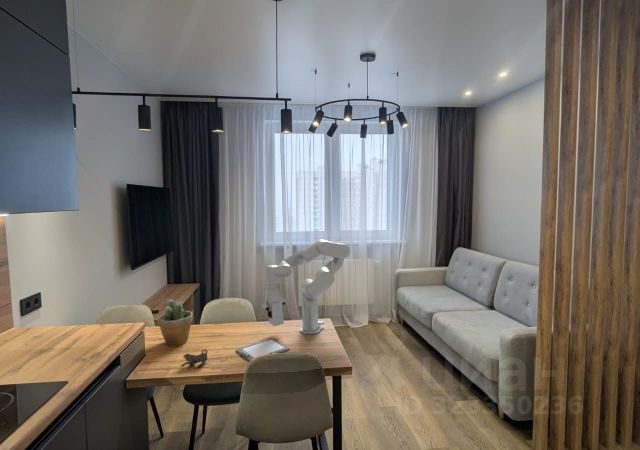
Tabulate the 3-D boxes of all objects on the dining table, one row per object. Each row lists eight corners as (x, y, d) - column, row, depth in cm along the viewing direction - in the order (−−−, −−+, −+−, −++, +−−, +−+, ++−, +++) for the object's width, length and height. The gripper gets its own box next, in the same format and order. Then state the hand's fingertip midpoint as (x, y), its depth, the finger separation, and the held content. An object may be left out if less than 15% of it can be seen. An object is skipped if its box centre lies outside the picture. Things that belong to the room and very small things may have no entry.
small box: (283, 324, 198) (282, 302, 197) (273, 326, 195) (272, 304, 194) (278, 320, 205) (276, 299, 204) (268, 322, 202) (267, 301, 201)
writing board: (271, 339, 193) (271, 336, 193) (289, 350, 180) (289, 346, 179) (235, 351, 180) (235, 347, 179) (252, 363, 166) (252, 359, 166)
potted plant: (151, 345, 189) (149, 301, 187) (179, 333, 206) (177, 293, 204) (174, 351, 181) (171, 305, 179) (201, 338, 197) (199, 296, 195)
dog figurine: (208, 361, 169) (208, 347, 169) (207, 367, 164) (206, 352, 163) (183, 364, 167) (182, 349, 166) (180, 369, 161) (180, 354, 161)
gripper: (282, 281, 207) (284, 310, 208) (257, 288, 196) (259, 318, 197) (289, 283, 201) (291, 313, 202) (263, 290, 190) (266, 321, 192)
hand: (275, 315), depth 200 cm, fingers closed on small box, 6 cm apart
